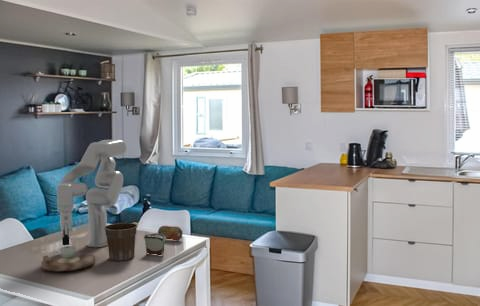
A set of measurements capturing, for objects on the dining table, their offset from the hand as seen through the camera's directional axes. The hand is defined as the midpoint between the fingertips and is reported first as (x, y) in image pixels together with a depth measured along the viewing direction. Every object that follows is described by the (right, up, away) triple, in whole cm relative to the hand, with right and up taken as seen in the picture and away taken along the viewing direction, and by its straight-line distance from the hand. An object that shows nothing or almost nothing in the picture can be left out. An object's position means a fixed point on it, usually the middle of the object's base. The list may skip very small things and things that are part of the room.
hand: (65, 244), depth 231 cm
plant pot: (+28, -7, +1) cm, 29 cm away
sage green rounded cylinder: (+4, -4, -7) cm, 9 cm away
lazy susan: (+6, -6, -12) cm, 15 cm away
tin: (+48, -4, +33) cm, 58 cm away
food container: (+45, -6, +7) cm, 46 cm away
